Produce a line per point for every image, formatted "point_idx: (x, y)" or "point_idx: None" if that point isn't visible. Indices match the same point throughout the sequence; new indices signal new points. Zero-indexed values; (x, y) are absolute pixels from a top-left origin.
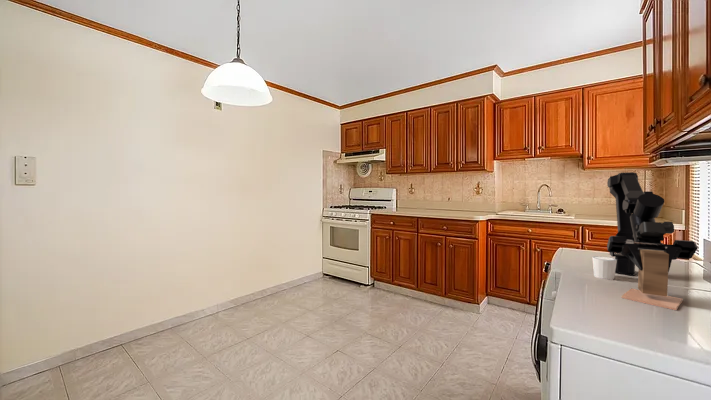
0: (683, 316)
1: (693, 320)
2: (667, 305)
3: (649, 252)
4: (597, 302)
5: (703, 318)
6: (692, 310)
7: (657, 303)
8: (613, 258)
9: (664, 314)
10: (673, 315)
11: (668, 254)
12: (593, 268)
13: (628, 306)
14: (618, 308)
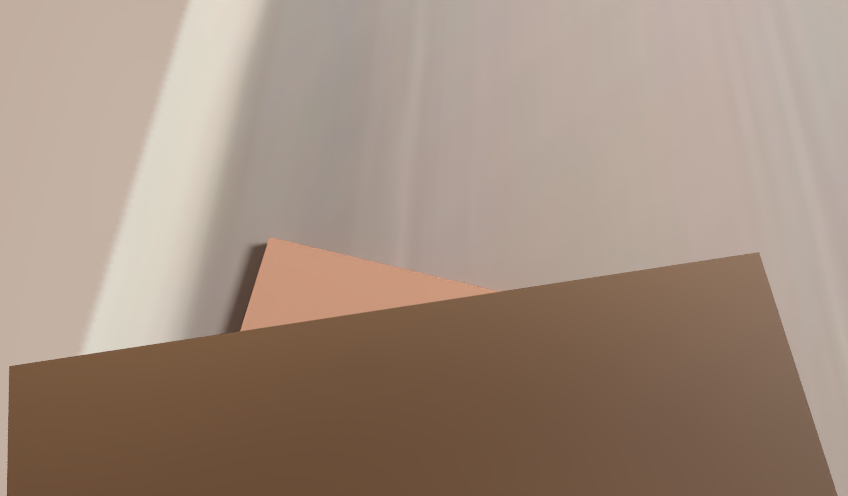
0: (257, 125)
1: (218, 78)
2: (317, 267)
3: (619, 313)
4: (716, 79)
5: (144, 164)
6: (159, 328)
7: (377, 274)
8: None
9: (360, 90)
10: (312, 105)
11: (30, 373)
12: None
13: (549, 119)
14: (597, 35)
